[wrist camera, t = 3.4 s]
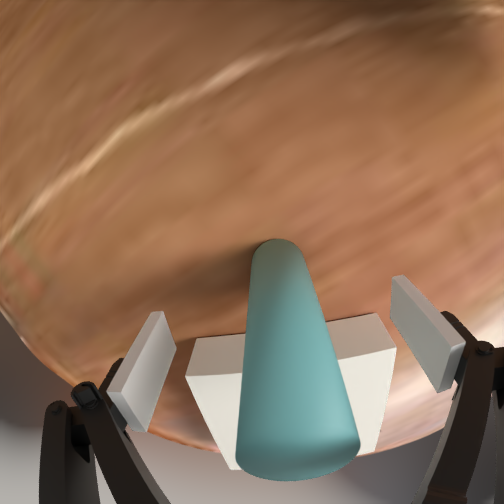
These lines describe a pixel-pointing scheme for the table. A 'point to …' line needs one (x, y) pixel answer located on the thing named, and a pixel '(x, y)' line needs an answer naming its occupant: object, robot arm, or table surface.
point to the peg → (290, 376)
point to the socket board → (349, 359)
